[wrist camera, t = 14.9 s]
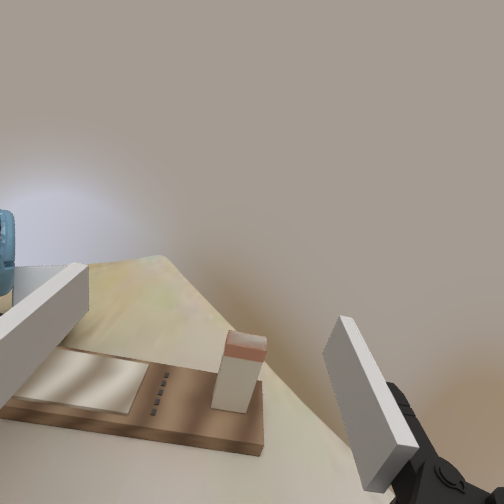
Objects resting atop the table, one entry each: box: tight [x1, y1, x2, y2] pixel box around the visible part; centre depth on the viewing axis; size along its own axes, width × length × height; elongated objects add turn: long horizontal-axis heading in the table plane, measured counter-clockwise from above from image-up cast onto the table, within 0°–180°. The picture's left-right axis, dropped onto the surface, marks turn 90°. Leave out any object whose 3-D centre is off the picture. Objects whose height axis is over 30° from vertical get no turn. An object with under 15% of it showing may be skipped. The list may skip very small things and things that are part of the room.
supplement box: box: [12, 265, 68, 307], centre depth 45 cm, size 7×7×13 cm
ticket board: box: [0, 346, 264, 456], centre depth 40 cm, size 33×10×3 cm, turn 89°
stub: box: [211, 330, 267, 414], centre depth 38 cm, size 5×2×12 cm, turn 90°
